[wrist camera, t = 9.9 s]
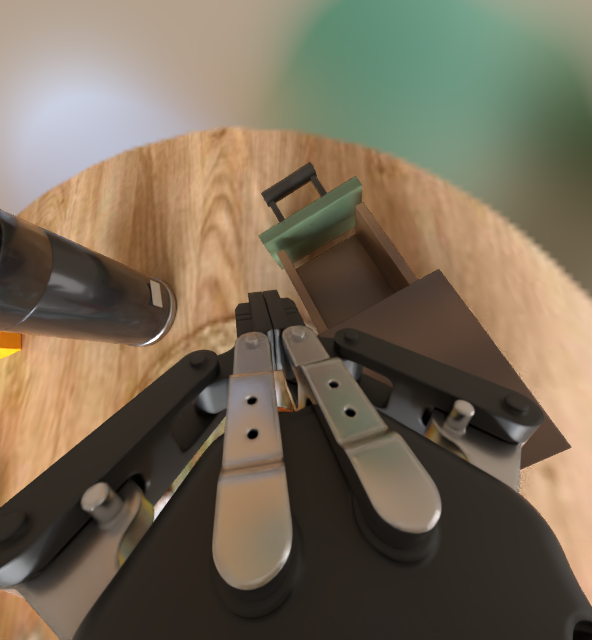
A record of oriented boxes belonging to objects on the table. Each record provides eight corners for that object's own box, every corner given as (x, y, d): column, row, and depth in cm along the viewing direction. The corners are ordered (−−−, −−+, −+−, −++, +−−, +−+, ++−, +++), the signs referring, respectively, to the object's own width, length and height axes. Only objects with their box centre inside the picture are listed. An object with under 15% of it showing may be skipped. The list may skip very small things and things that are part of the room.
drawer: (258, 225, 32) (235, 191, 26) (331, 179, 31) (325, 133, 25) (328, 355, 27) (319, 351, 21) (418, 307, 26) (437, 288, 20)
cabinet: (319, 349, 28) (304, 341, 20) (415, 297, 27) (439, 268, 19) (385, 474, 25) (398, 522, 17) (500, 421, 23) (572, 447, 15)
